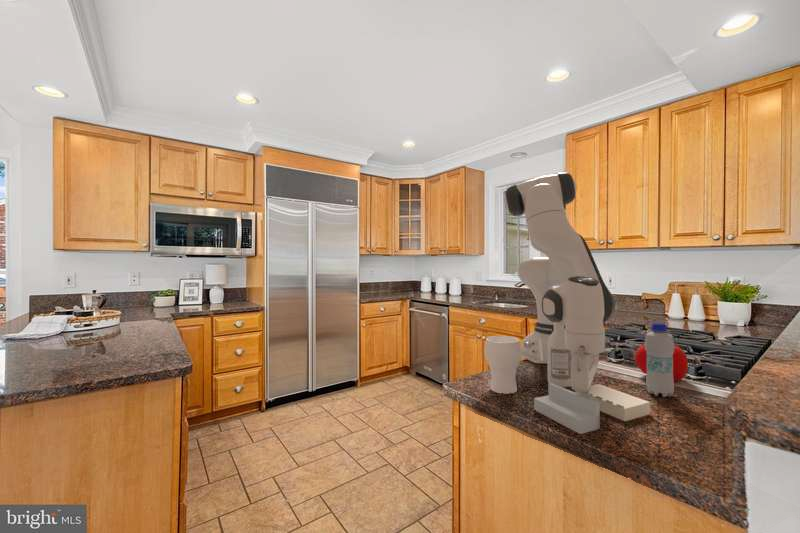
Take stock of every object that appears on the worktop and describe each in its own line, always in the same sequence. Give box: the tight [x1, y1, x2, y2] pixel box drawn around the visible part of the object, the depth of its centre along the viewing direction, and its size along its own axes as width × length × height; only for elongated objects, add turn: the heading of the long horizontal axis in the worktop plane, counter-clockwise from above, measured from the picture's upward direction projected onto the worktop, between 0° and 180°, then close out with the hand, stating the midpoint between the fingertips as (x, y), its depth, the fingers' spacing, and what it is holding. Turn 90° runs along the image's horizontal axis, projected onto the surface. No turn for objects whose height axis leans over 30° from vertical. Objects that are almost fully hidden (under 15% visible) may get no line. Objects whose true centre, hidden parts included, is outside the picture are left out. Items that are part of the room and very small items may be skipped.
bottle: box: [644, 322, 675, 398], centre depth 99 cm, size 7×7×20 cm
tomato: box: [634, 343, 689, 382], centre depth 111 cm, size 12×14×11 cm
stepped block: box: [533, 383, 601, 435], centre depth 86 cm, size 14×6×6 cm, turn 22°
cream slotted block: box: [574, 383, 651, 422], centre depth 91 cm, size 14×9×3 cm, turn 22°
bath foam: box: [546, 322, 572, 388], centre depth 109 cm, size 7×7×20 cm
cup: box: [484, 335, 522, 395], centre depth 106 cm, size 11×11×15 cm
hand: (585, 397), depth 89 cm, fingers closed
